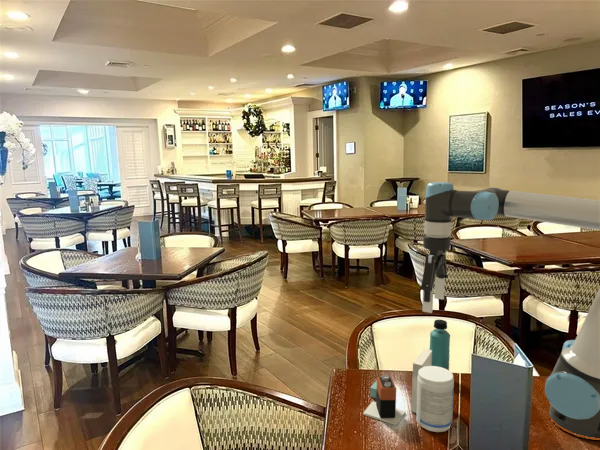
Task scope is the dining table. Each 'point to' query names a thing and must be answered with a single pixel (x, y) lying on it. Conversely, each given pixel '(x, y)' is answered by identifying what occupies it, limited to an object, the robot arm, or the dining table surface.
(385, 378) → the battery
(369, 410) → the mat
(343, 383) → the dining table surface
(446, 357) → the beverage bottle
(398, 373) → the dining table surface
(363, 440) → the dining table surface
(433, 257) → the robot arm
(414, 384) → the white u-shaped bracket
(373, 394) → the block
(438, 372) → the supplement tub
